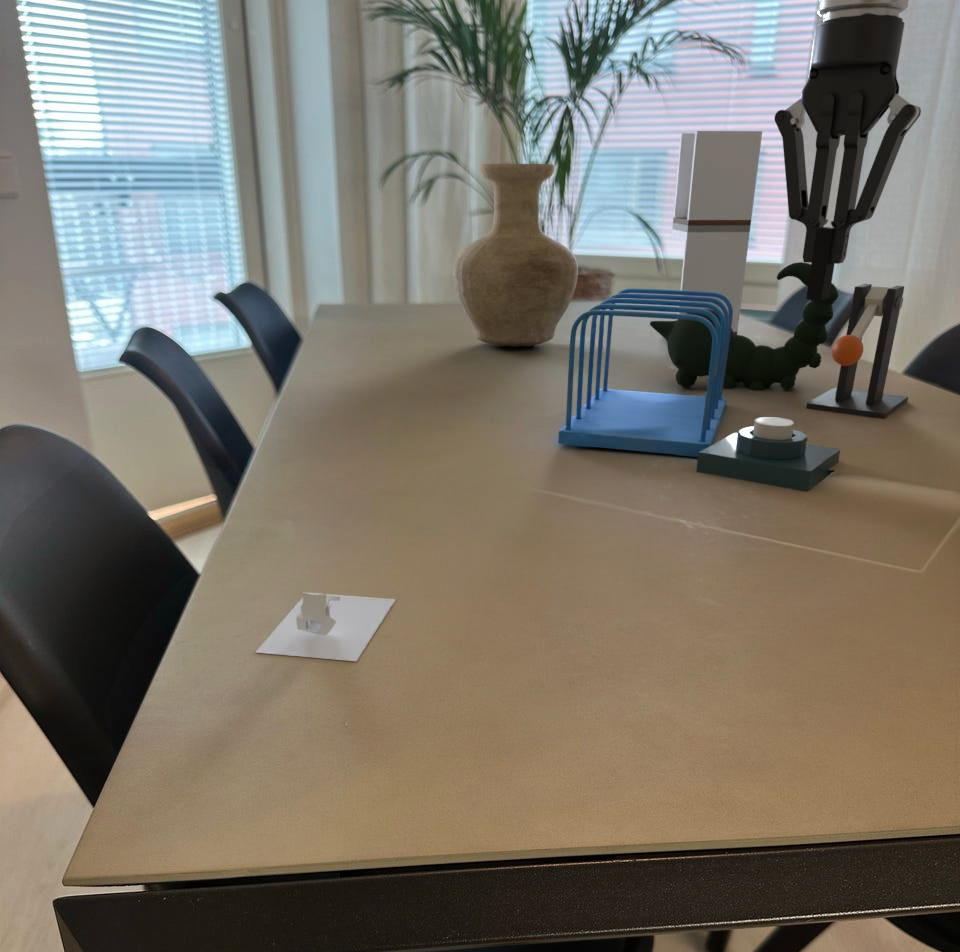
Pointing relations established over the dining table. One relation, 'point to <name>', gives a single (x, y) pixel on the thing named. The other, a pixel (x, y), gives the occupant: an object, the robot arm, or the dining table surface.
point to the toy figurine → (751, 345)
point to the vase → (515, 264)
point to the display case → (716, 211)
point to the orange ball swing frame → (874, 399)
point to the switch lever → (859, 329)
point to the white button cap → (773, 428)
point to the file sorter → (644, 414)
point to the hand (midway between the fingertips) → (817, 298)
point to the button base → (769, 460)
